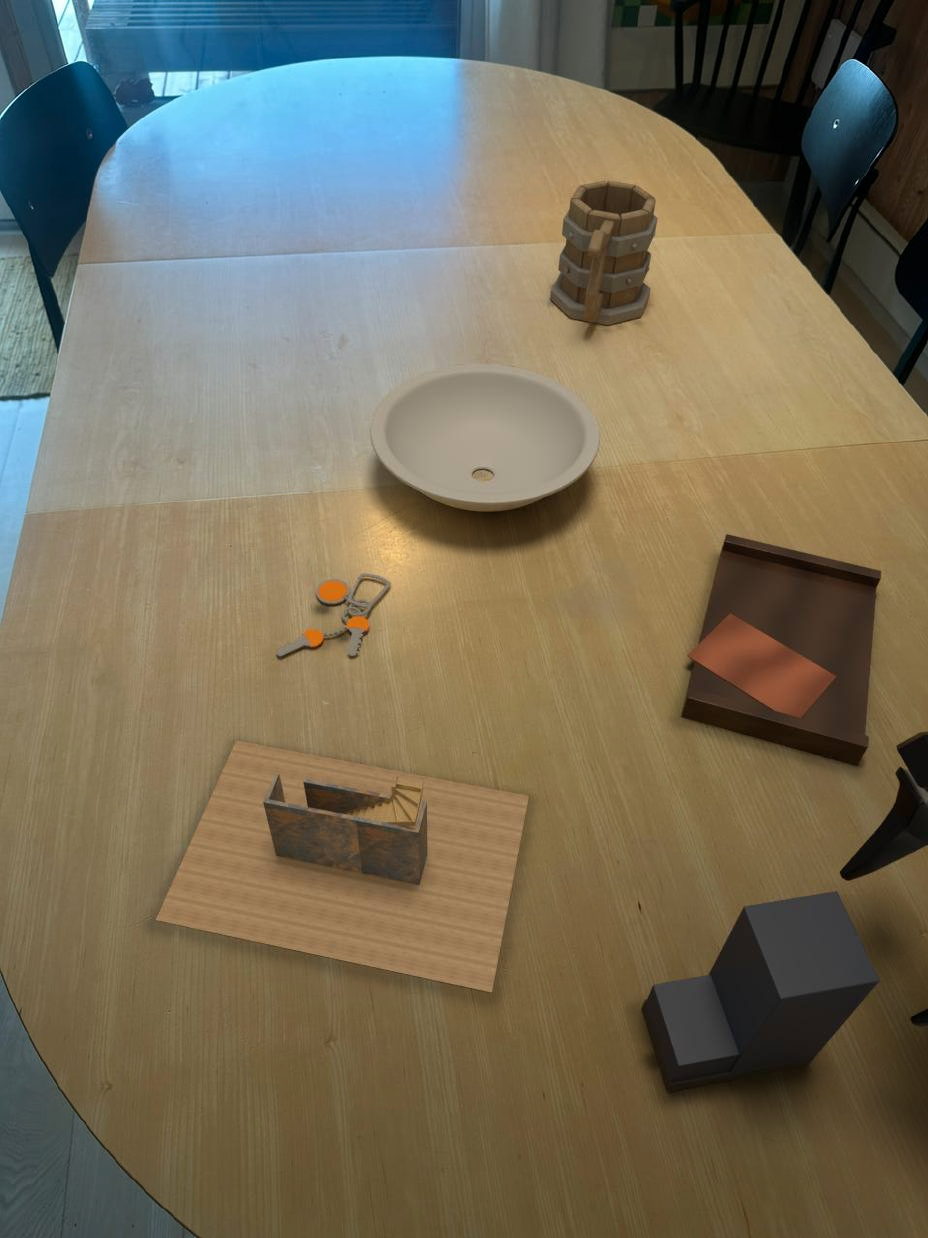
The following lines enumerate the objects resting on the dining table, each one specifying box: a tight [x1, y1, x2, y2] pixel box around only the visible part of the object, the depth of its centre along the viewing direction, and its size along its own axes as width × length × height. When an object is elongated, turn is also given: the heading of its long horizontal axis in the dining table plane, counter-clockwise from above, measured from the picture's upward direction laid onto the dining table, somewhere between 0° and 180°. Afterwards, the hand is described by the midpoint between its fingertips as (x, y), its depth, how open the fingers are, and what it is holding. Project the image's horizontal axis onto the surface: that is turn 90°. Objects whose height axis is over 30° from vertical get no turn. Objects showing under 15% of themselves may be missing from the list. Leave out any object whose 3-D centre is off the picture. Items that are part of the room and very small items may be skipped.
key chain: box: [275, 572, 392, 658], centre depth 91 cm, size 13×7×1 cm, turn 158°
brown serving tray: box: [680, 533, 882, 766], centre depth 89 cm, size 16×22×3 cm
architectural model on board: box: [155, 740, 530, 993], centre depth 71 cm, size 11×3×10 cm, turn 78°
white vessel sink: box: [369, 363, 601, 513], centre depth 103 cm, size 24×24×7 cm
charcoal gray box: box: [641, 890, 880, 1092], centre depth 61 cm, size 10×6×14 cm, turn 100°
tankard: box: [549, 179, 658, 326], centre depth 124 cm, size 20×13×15 cm, turn 162°
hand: (876, 946), depth 58 cm, fingers open, 9 cm apart
